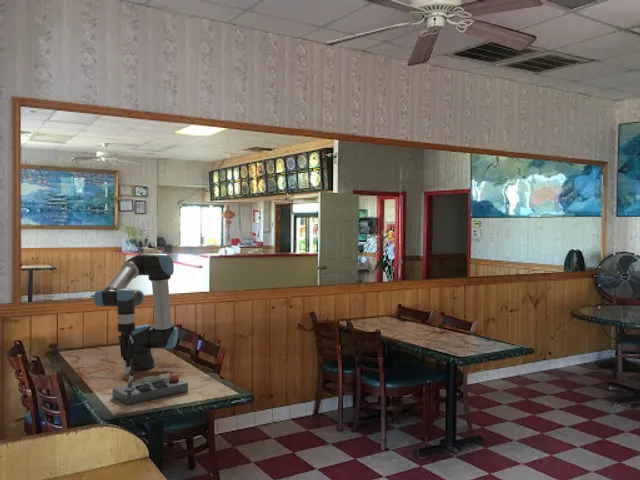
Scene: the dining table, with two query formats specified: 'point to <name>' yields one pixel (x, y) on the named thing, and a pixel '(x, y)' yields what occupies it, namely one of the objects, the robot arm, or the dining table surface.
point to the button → (174, 377)
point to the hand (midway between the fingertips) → (127, 373)
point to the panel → (149, 390)
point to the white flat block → (144, 380)
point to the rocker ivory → (161, 376)
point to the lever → (130, 378)
